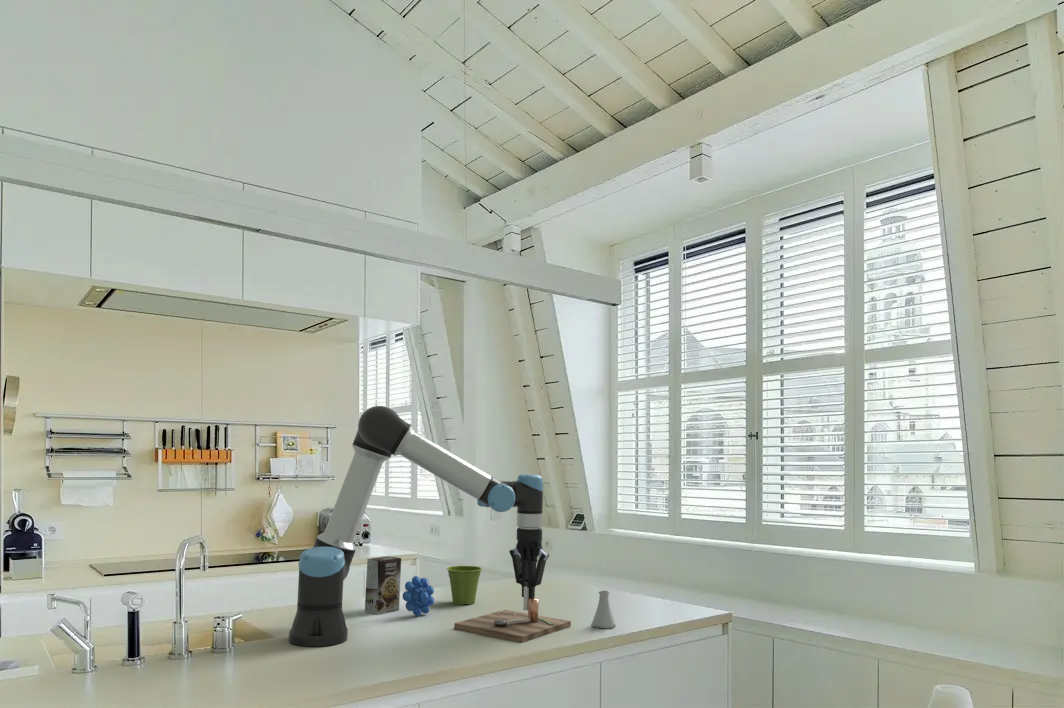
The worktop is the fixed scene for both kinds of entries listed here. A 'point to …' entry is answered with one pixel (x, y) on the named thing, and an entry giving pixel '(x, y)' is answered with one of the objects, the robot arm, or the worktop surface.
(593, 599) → the worktop surface
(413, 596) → the grapes
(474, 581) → the plant pot
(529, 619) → the crank handle
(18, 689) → the worktop surface
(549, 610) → the worktop surface
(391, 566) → the coffee box
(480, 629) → the dial board
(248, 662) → the worktop surface
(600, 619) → the flask
